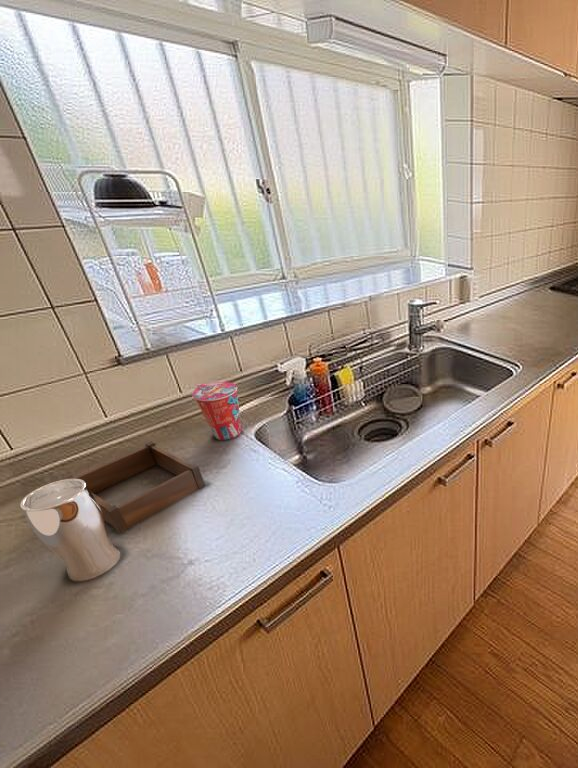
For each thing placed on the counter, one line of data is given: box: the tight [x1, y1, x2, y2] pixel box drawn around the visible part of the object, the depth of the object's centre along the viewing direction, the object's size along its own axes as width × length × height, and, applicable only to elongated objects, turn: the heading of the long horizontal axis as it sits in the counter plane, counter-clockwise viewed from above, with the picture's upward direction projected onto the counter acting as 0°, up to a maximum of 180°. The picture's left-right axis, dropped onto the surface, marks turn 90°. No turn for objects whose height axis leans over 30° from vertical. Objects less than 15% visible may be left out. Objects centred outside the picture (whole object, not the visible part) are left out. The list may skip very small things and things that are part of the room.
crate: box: [62, 440, 206, 534], centre depth 79 cm, size 16×14×5 cm
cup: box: [191, 381, 242, 441], centre depth 96 cm, size 9×8×12 cm
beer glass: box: [20, 478, 121, 582], centre depth 63 cm, size 7×7×15 cm
